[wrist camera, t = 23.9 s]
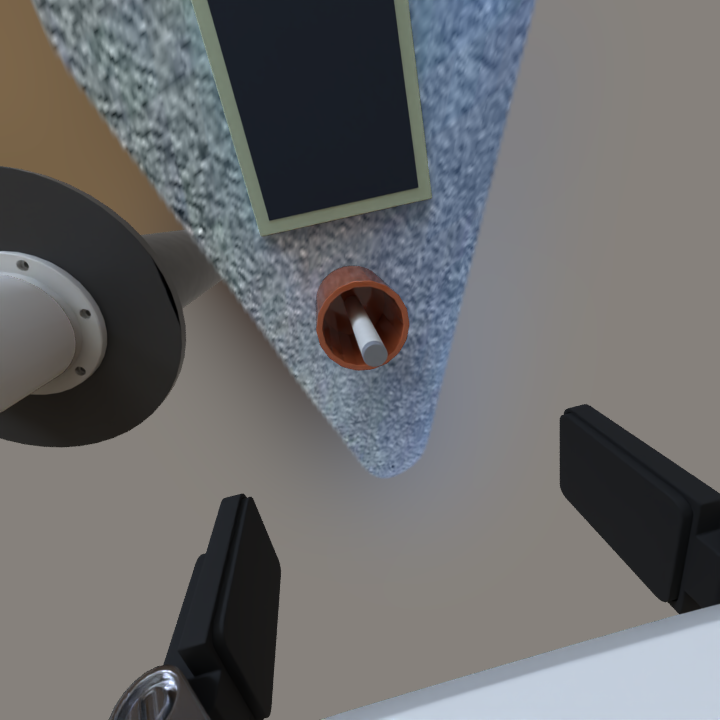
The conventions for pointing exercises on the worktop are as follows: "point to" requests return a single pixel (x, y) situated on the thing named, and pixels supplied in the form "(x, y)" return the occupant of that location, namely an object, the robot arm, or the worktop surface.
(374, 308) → the pen cup
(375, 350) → the stylus
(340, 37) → the tablet
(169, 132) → the worktop surface
